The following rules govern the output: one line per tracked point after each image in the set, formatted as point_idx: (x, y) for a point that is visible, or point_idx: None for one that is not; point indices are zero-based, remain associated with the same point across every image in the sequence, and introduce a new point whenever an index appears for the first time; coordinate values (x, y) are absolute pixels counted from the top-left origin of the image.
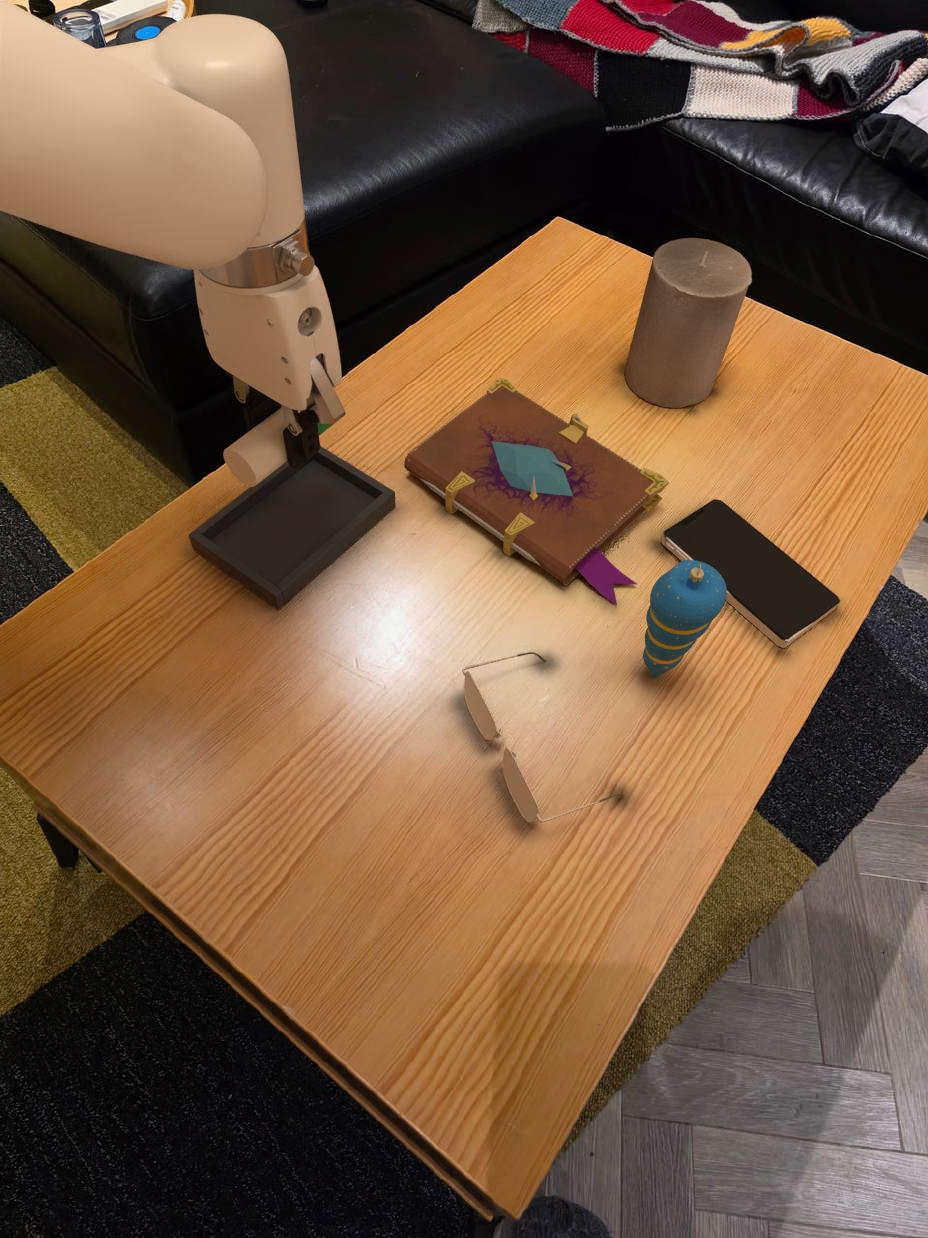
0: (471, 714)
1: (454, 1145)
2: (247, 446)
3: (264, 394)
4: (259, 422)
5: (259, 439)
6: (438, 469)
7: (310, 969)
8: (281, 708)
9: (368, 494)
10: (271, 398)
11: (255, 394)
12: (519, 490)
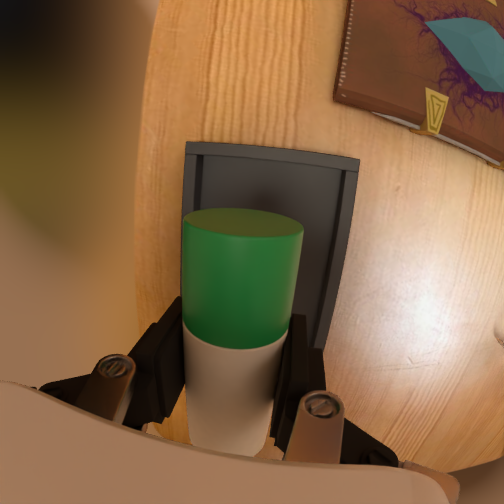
0: (499, 342)
1: (491, 460)
2: (226, 451)
3: (153, 390)
4: (181, 378)
5: (231, 437)
6: (396, 97)
7: (434, 467)
8: (368, 413)
9: (313, 166)
10: (164, 367)
11: (147, 415)
12: (494, 95)
